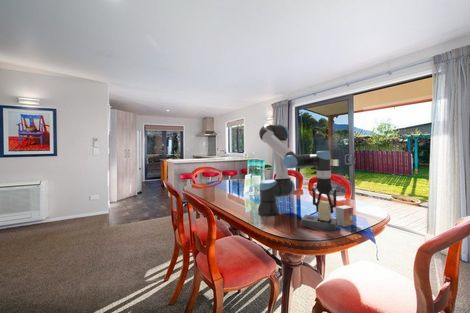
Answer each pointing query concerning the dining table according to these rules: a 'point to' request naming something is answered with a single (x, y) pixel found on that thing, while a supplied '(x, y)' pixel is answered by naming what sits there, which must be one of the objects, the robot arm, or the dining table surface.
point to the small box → (344, 215)
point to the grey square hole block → (319, 223)
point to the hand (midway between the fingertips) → (324, 217)
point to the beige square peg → (324, 210)
